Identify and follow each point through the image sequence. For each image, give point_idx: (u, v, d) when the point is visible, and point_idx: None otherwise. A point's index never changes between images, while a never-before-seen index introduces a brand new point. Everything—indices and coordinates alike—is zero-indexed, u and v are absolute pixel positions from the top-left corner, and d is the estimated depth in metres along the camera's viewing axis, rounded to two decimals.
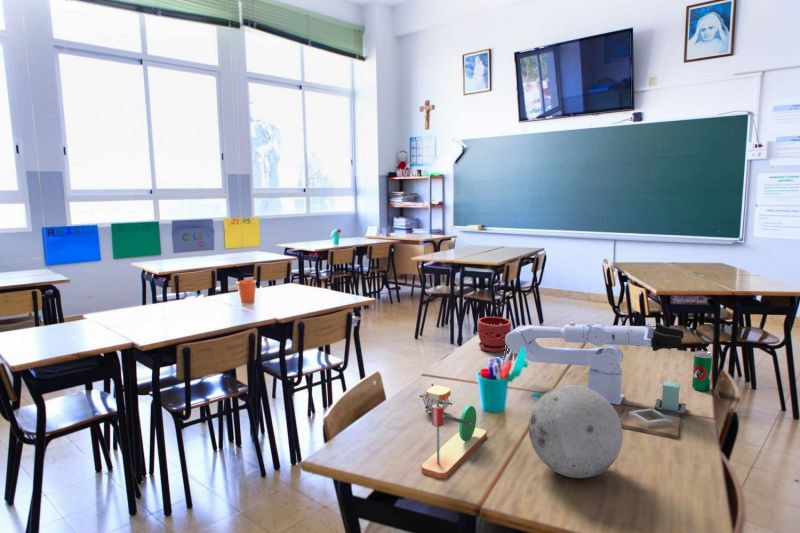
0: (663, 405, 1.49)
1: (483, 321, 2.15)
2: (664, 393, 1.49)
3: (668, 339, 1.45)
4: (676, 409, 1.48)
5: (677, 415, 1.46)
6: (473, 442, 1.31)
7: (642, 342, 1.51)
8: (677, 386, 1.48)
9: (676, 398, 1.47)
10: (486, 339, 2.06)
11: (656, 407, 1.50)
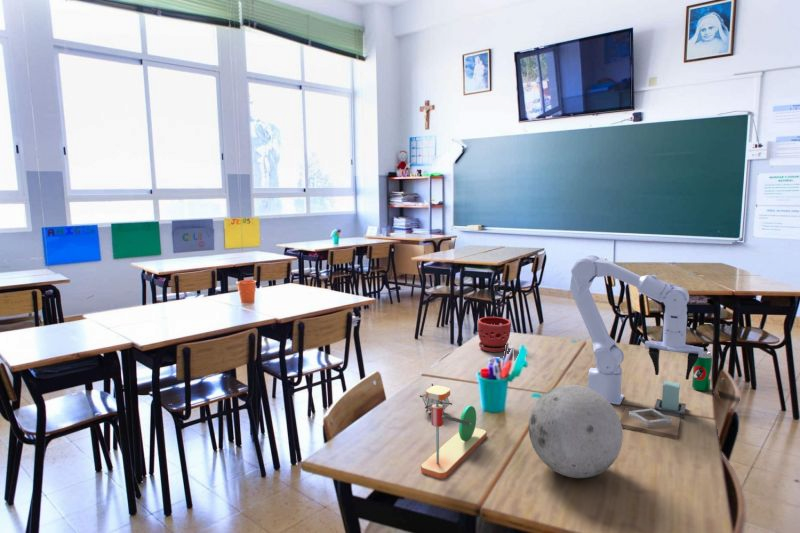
0: (663, 405, 1.49)
1: (483, 321, 2.15)
2: (664, 393, 1.49)
3: None
4: (676, 409, 1.48)
5: (677, 415, 1.46)
6: (473, 443, 1.31)
7: None
8: (677, 386, 1.48)
9: (676, 398, 1.47)
10: (486, 339, 2.06)
11: (656, 407, 1.50)
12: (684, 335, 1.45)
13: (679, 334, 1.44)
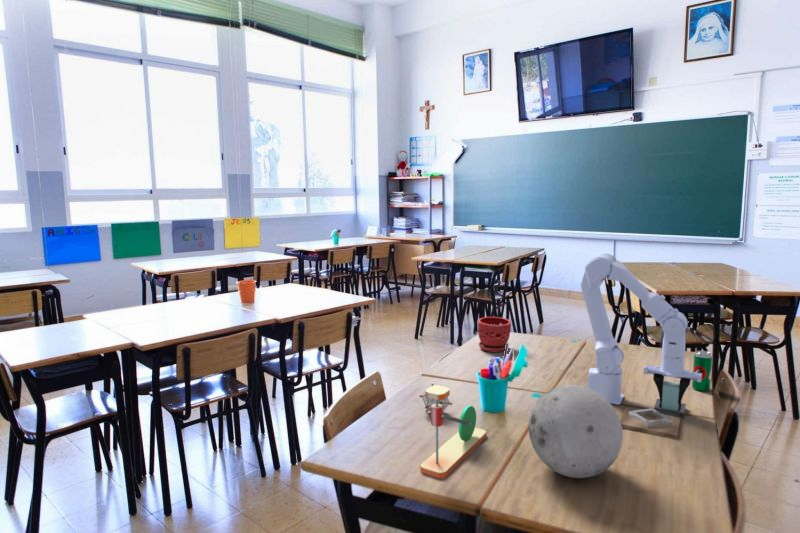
0: (663, 405, 1.49)
1: (483, 321, 2.15)
2: (664, 393, 1.49)
3: None
4: (676, 409, 1.48)
5: (677, 415, 1.46)
6: (472, 443, 1.31)
7: None
8: (677, 386, 1.48)
9: (676, 398, 1.47)
10: (486, 339, 2.06)
11: (656, 407, 1.50)
12: (682, 361, 1.46)
13: (677, 360, 1.46)
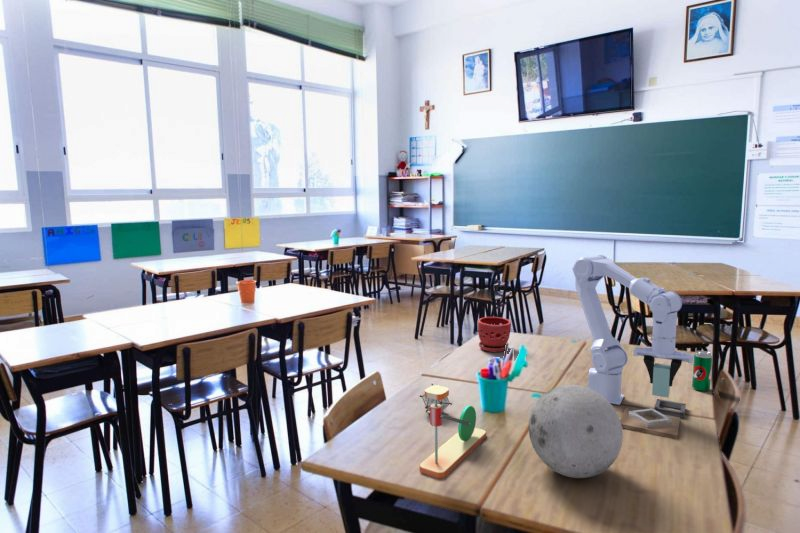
0: (654, 388, 1.44)
1: (483, 321, 2.15)
2: (655, 375, 1.44)
3: None
4: (667, 391, 1.43)
5: (677, 415, 1.46)
6: (472, 442, 1.31)
7: None
8: (668, 368, 1.43)
9: (667, 380, 1.42)
10: (486, 339, 2.06)
11: (656, 407, 1.50)
12: (674, 342, 1.41)
13: (668, 341, 1.40)
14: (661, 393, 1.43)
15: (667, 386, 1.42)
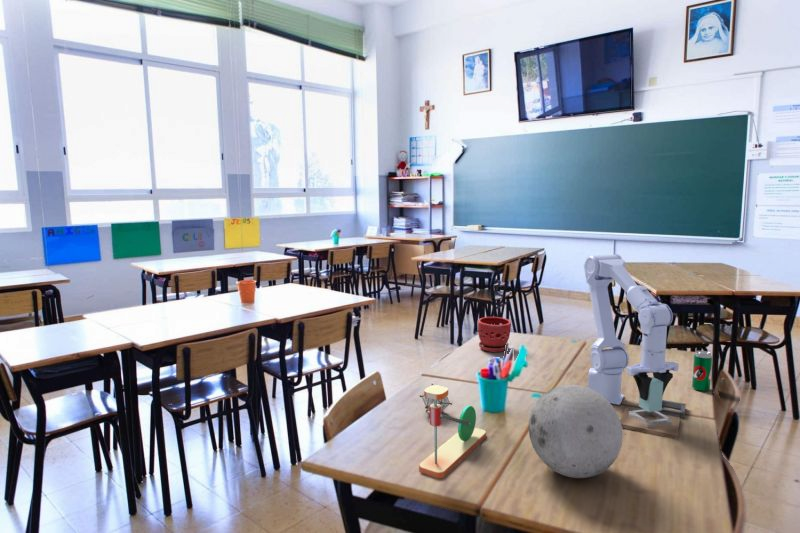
0: (650, 404, 1.39)
1: (483, 321, 2.15)
2: (651, 391, 1.39)
3: (643, 388, 1.40)
4: (661, 404, 1.40)
5: (677, 415, 1.46)
6: (472, 442, 1.31)
7: (641, 361, 1.41)
8: (659, 380, 1.40)
9: (661, 393, 1.40)
10: (486, 339, 2.06)
11: None
12: None
13: (664, 353, 1.38)
14: (656, 408, 1.40)
15: (661, 399, 1.40)
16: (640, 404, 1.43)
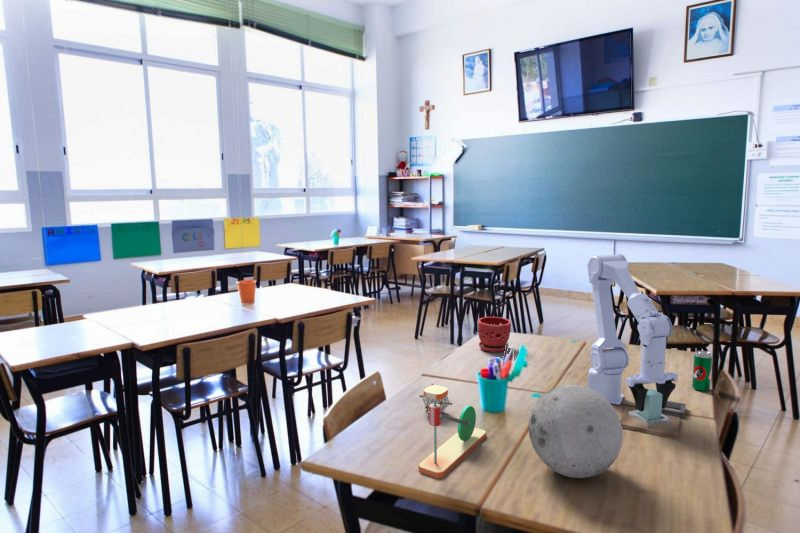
0: (649, 416, 1.40)
1: (483, 321, 2.15)
2: (650, 403, 1.39)
3: (639, 399, 1.40)
4: (660, 417, 1.41)
5: (677, 415, 1.46)
6: (472, 443, 1.31)
7: None
8: (658, 392, 1.41)
9: (660, 405, 1.40)
10: (486, 339, 2.06)
11: None
12: None
13: (663, 364, 1.38)
14: None
15: (660, 411, 1.41)
16: None
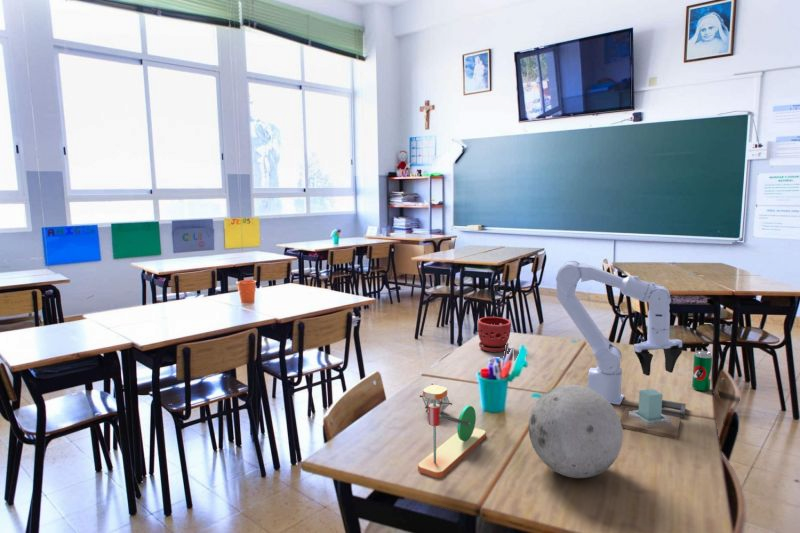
0: (649, 416, 1.40)
1: (483, 321, 2.15)
2: (650, 403, 1.39)
3: (645, 364, 1.51)
4: (660, 417, 1.41)
5: (677, 415, 1.46)
6: (471, 443, 1.31)
7: (647, 338, 1.53)
8: (658, 392, 1.41)
9: (660, 405, 1.40)
10: (486, 339, 2.06)
11: None
12: None
13: (668, 331, 1.49)
14: None
15: (660, 411, 1.41)
16: None
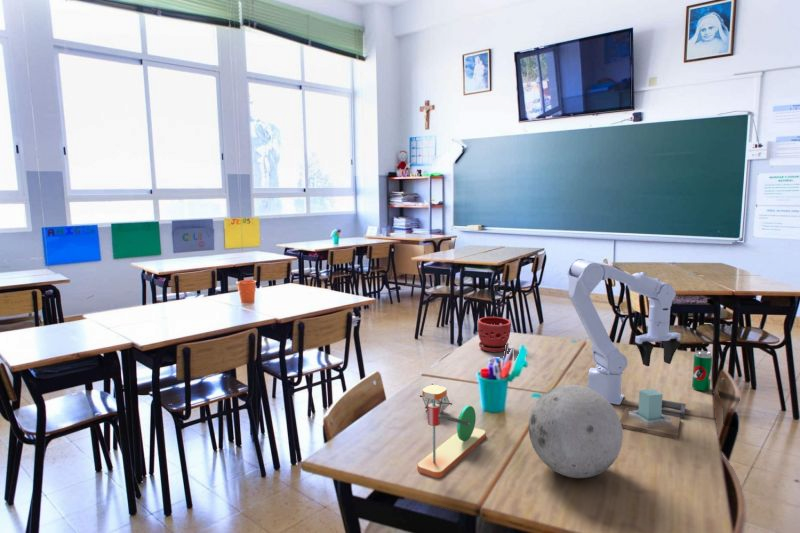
0: (649, 416, 1.40)
1: (483, 321, 2.15)
2: (650, 403, 1.39)
3: (646, 355, 1.59)
4: (660, 417, 1.41)
5: (677, 415, 1.46)
6: (471, 443, 1.31)
7: (648, 331, 1.60)
8: (658, 392, 1.41)
9: (660, 405, 1.40)
10: (486, 339, 2.06)
11: None
12: None
13: (668, 324, 1.57)
14: None
15: (660, 411, 1.41)
16: None
